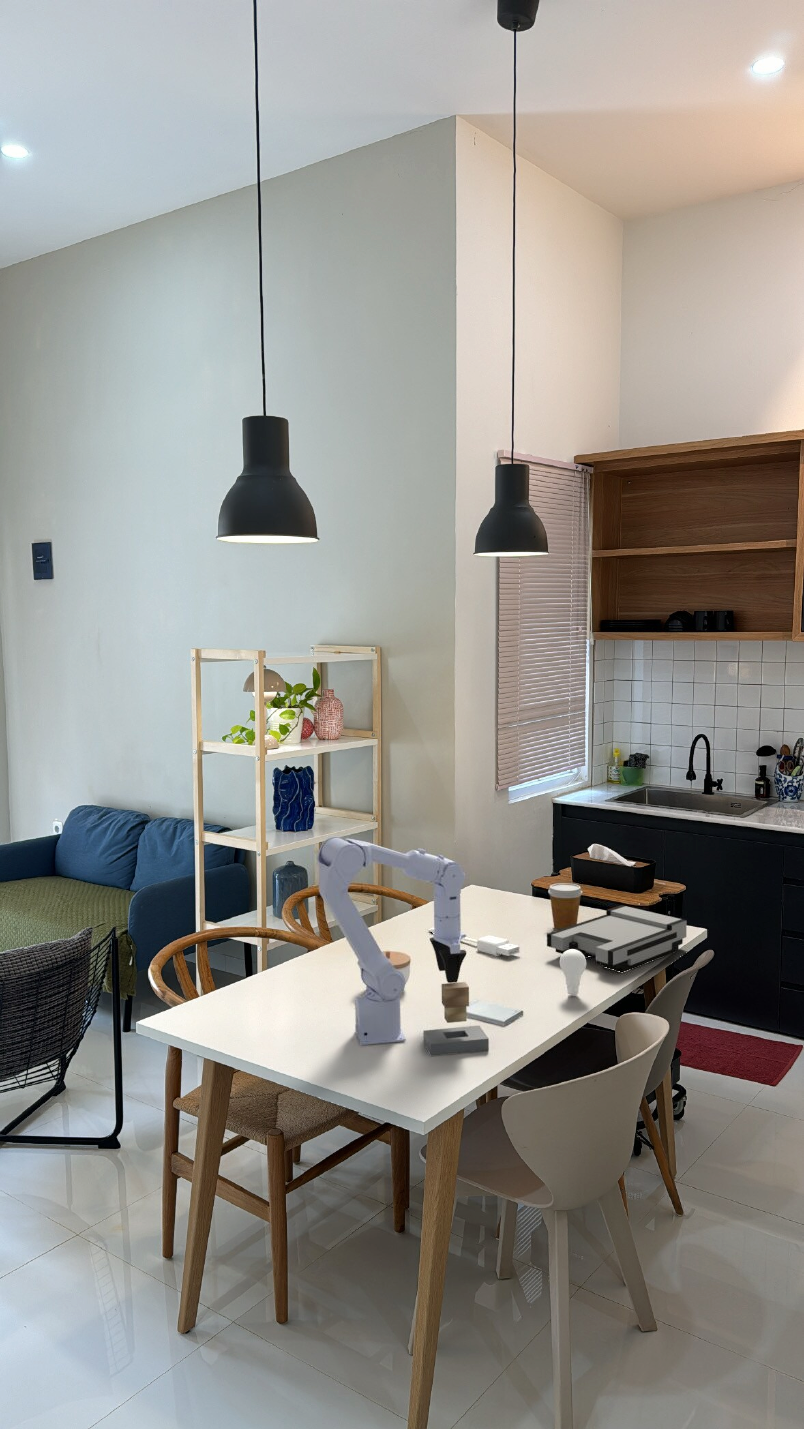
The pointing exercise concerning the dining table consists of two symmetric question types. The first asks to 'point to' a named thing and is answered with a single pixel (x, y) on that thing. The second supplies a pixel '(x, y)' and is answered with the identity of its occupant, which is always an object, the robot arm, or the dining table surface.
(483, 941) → the charging cable
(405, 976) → the lidded jar
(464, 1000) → the walnut plug
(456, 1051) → the block
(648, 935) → the game console
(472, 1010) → the hard drive
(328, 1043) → the dining table surface
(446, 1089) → the dining table surface
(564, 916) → the disposable coffee cup
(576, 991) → the lightbulb
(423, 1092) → the dining table surface
